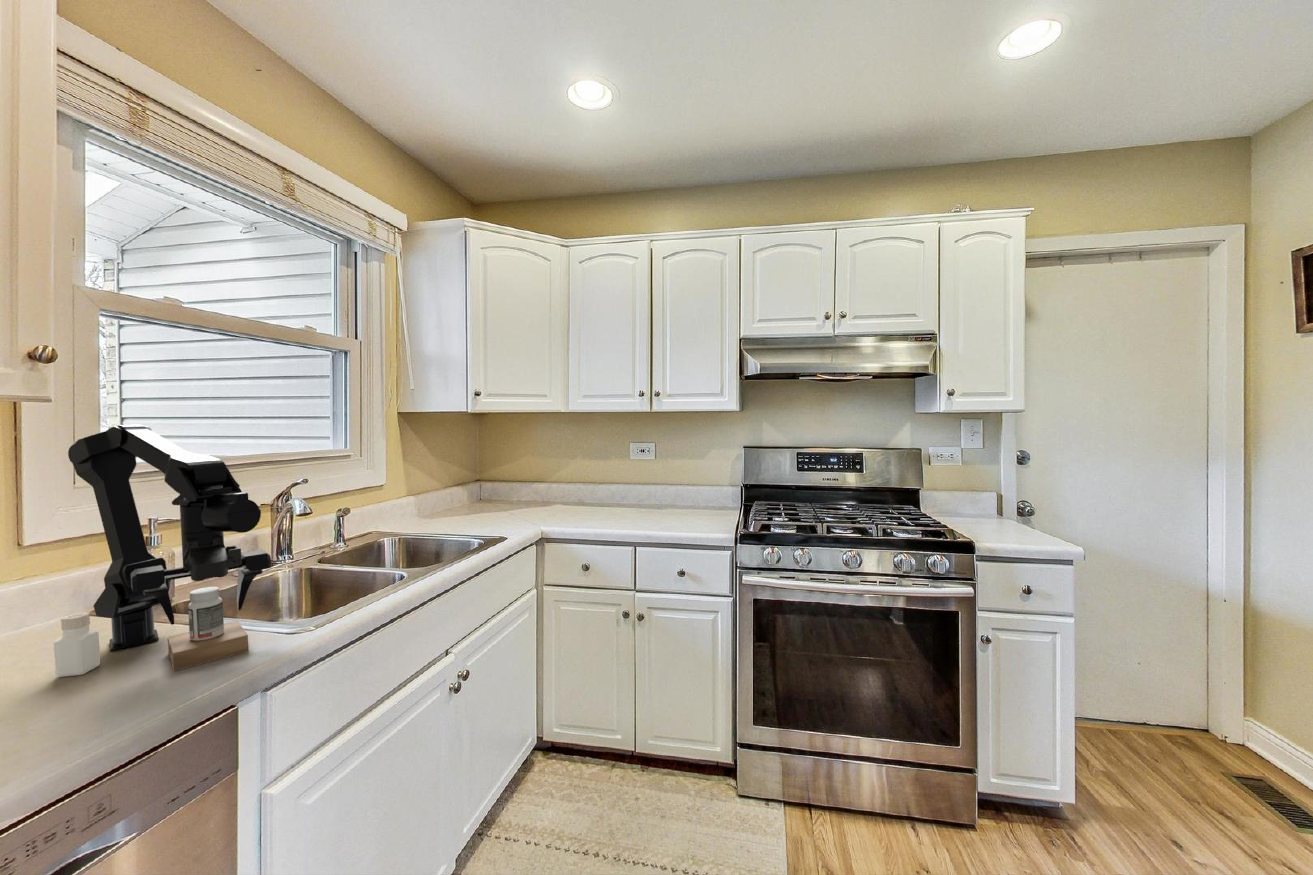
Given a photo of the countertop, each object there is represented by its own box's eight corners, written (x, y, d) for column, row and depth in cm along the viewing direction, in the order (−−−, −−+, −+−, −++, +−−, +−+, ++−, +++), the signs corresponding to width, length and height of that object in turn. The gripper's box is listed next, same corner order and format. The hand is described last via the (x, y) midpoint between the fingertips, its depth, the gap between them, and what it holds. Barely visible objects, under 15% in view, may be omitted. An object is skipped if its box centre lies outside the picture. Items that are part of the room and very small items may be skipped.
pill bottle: (230, 630, 99) (228, 585, 98) (210, 641, 94) (208, 593, 94) (204, 631, 98) (201, 586, 98) (182, 641, 94) (180, 594, 93)
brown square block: (168, 653, 96) (167, 636, 96) (238, 636, 103) (237, 620, 103) (174, 671, 89) (173, 653, 89) (248, 651, 96) (247, 634, 96)
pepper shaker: (102, 665, 92) (99, 610, 92) (83, 675, 88) (79, 618, 88) (74, 667, 91) (71, 612, 91) (53, 678, 87) (49, 621, 87)
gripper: (131, 546, 83) (136, 646, 84) (276, 527, 97) (280, 612, 97) (128, 536, 91) (133, 627, 91) (262, 519, 104) (266, 599, 105)
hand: (207, 616), depth 96 cm, fingers open, 9 cm apart
